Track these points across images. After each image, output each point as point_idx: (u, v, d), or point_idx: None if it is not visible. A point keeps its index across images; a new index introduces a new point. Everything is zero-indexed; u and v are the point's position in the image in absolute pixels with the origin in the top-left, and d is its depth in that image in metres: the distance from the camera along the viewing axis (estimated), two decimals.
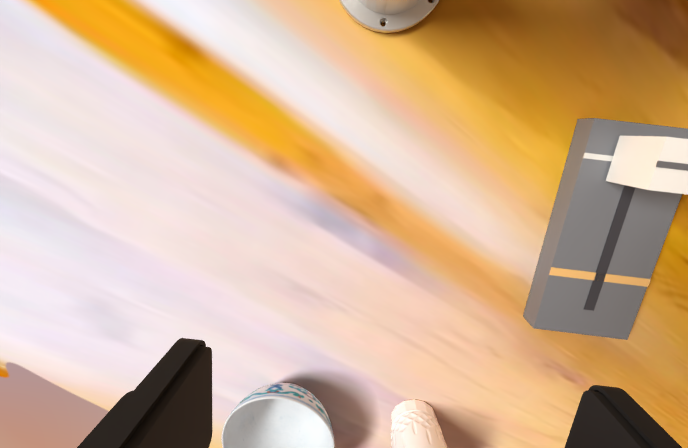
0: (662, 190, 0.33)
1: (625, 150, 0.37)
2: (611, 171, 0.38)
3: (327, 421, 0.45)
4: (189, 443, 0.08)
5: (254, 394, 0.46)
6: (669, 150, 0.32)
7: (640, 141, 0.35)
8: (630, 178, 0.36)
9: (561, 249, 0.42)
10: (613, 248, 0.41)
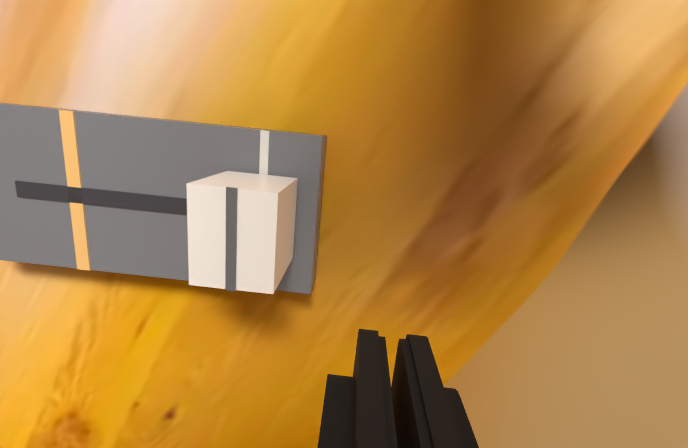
0: (188, 208, 0.19)
1: (271, 178, 0.23)
2: (241, 173, 0.24)
3: None
4: None
5: None
6: (255, 202, 0.19)
7: (280, 184, 0.21)
8: (218, 178, 0.21)
9: (108, 123, 0.24)
10: (125, 206, 0.26)
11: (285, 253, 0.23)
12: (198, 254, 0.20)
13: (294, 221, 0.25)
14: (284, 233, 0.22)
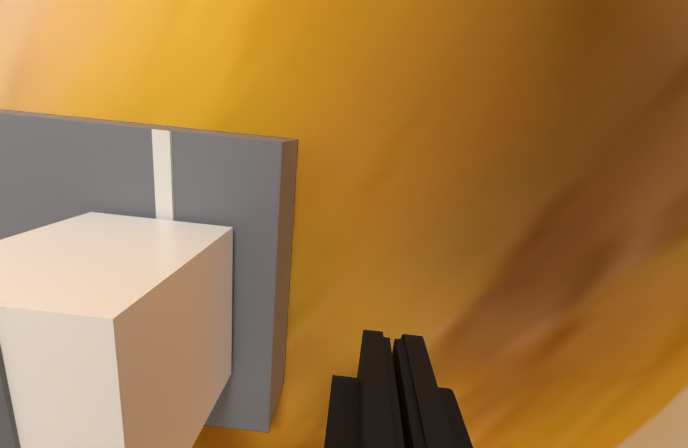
0: None
1: (165, 235, 0.11)
2: (114, 218, 0.12)
3: None
4: None
5: None
6: (52, 343, 0.06)
7: (170, 257, 0.09)
8: (15, 246, 0.09)
9: None
10: None
11: (195, 401, 0.10)
12: None
13: (229, 311, 0.13)
14: (182, 371, 0.09)
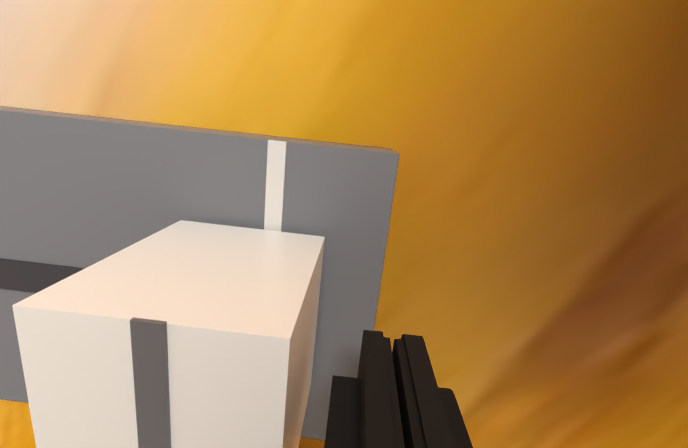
0: (28, 370, 0.07)
1: (269, 245, 0.10)
2: (207, 227, 0.12)
3: None
4: None
5: None
6: (222, 362, 0.06)
7: (292, 270, 0.09)
8: (139, 258, 0.09)
9: None
10: (4, 284, 0.13)
11: (300, 413, 0.10)
12: None
13: (316, 321, 0.12)
14: (300, 385, 0.09)
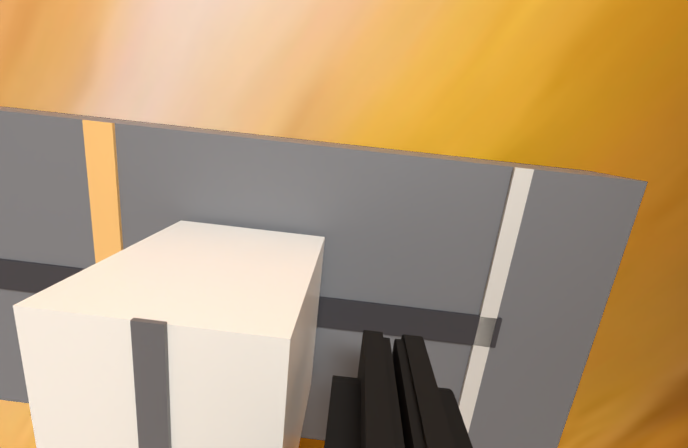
0: (29, 370, 0.07)
1: (269, 246, 0.10)
2: (207, 227, 0.12)
3: None
4: None
5: None
6: (222, 362, 0.06)
7: (292, 270, 0.09)
8: (139, 258, 0.09)
9: (186, 148, 0.12)
10: None
11: (300, 413, 0.10)
12: None
13: (316, 321, 0.12)
14: (300, 385, 0.09)
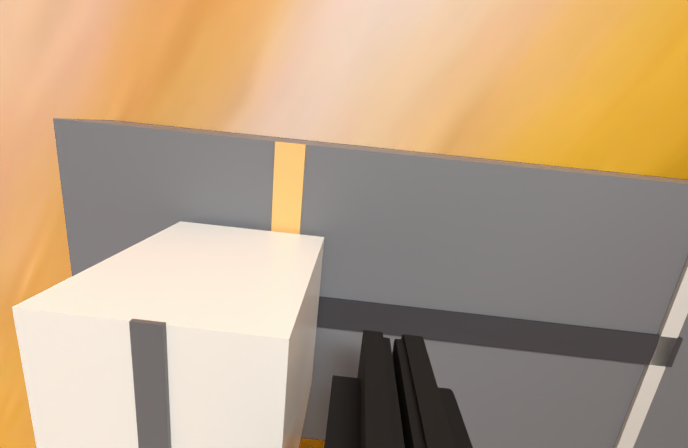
0: (29, 371, 0.07)
1: (269, 246, 0.10)
2: (207, 228, 0.12)
3: None
4: None
5: None
6: (221, 363, 0.06)
7: (291, 271, 0.09)
8: (139, 259, 0.09)
9: (376, 169, 0.11)
10: (379, 329, 0.13)
11: (300, 414, 0.10)
12: None
13: (316, 321, 0.12)
14: (300, 385, 0.09)
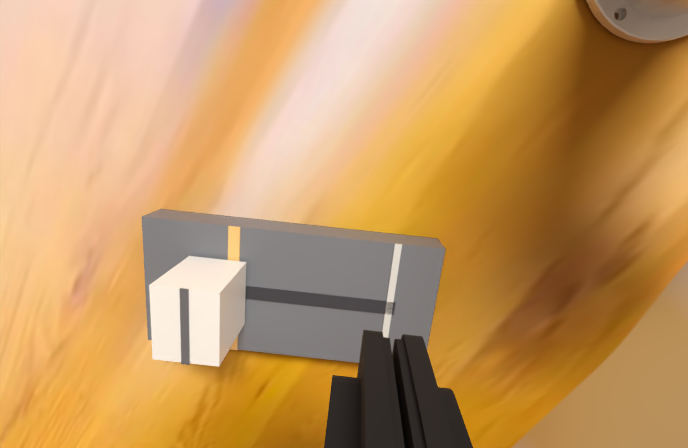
0: (151, 302, 0.25)
1: (222, 266, 0.29)
2: (199, 259, 0.30)
3: None
4: None
5: None
6: (202, 299, 0.24)
7: (227, 275, 0.27)
8: (177, 272, 0.27)
9: (268, 236, 0.30)
10: (274, 300, 0.31)
11: (233, 327, 0.28)
12: (159, 336, 0.25)
13: (244, 296, 0.31)
14: (230, 314, 0.27)
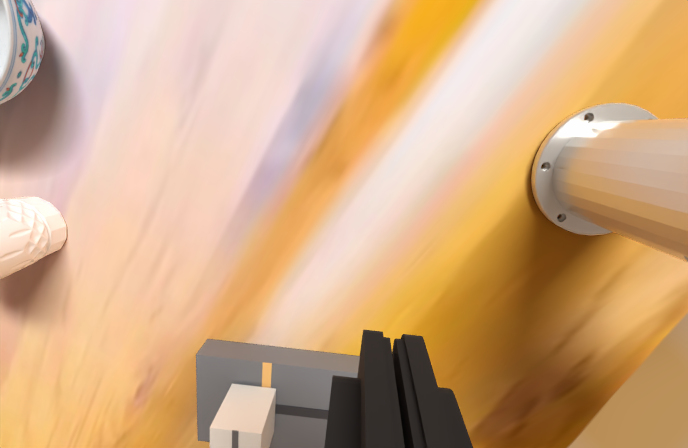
0: (210, 439, 0.34)
1: (259, 397, 0.37)
2: (240, 387, 0.38)
3: None
4: None
5: None
6: (248, 437, 0.33)
7: (264, 409, 0.36)
8: (226, 408, 0.36)
9: (293, 370, 0.38)
10: (297, 414, 0.40)
11: (267, 444, 0.37)
12: None
13: (274, 413, 0.39)
14: (266, 437, 0.36)
